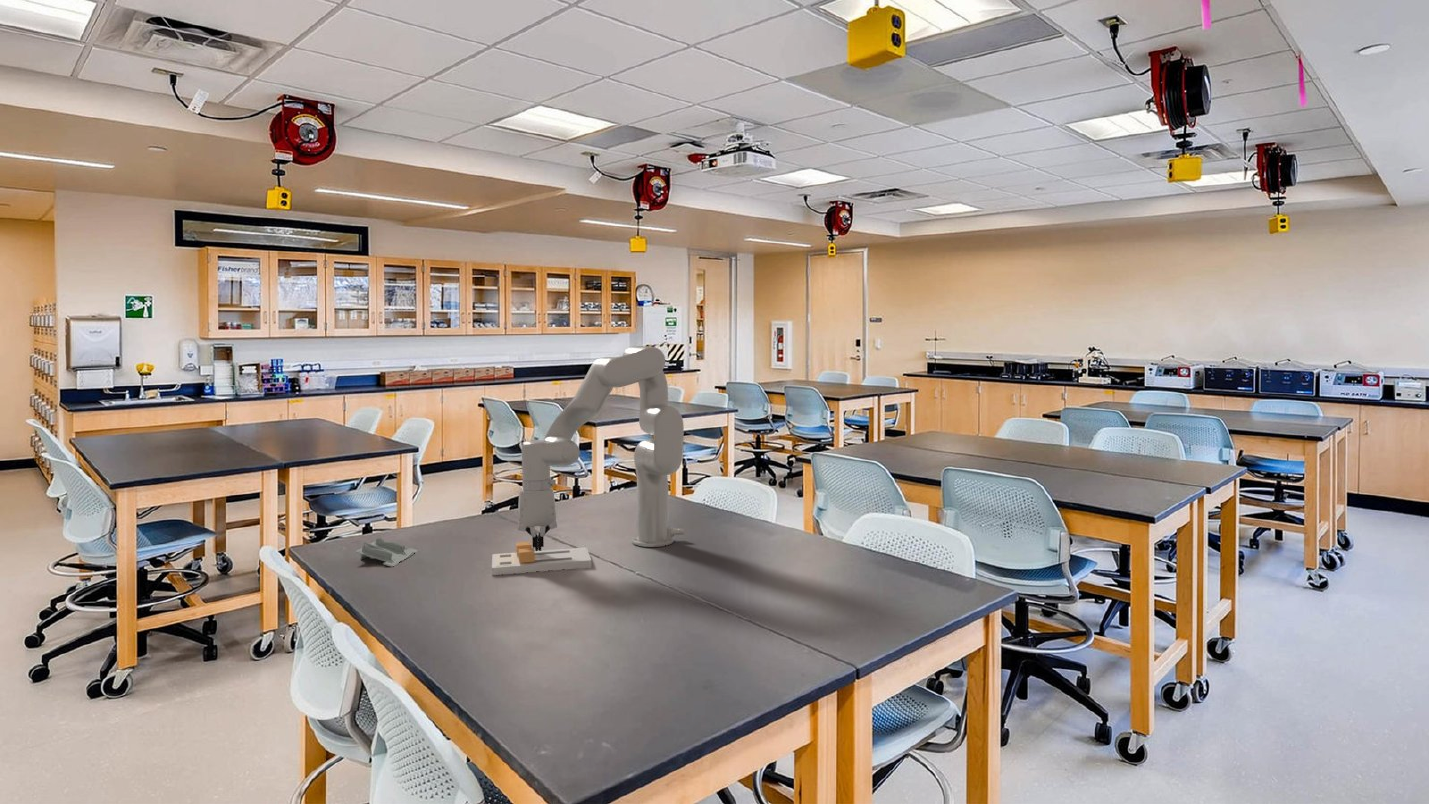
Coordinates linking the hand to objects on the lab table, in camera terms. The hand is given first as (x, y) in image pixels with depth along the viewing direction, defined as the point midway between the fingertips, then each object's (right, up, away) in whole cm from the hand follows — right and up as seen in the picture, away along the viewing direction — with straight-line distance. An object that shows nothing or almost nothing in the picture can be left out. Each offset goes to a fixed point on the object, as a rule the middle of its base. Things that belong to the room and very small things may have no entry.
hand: (538, 549), depth 213 cm
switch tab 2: (-1, -2, -7) cm, 8 cm away
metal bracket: (-44, -4, +3) cm, 44 cm away
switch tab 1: (-4, -1, -1) cm, 4 cm away
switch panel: (+2, -4, -3) cm, 5 cm away
